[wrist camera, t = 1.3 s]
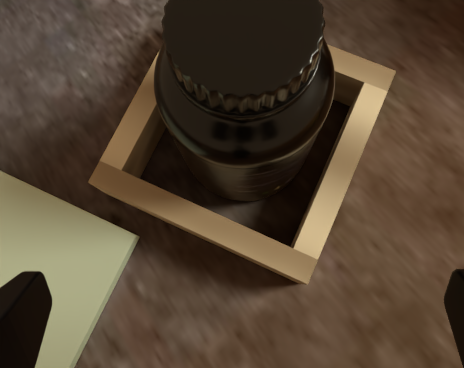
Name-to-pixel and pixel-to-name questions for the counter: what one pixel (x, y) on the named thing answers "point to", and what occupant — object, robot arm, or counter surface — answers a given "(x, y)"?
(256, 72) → the supplement bottle
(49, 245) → the sage board
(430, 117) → the counter surface
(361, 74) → the birch collar
